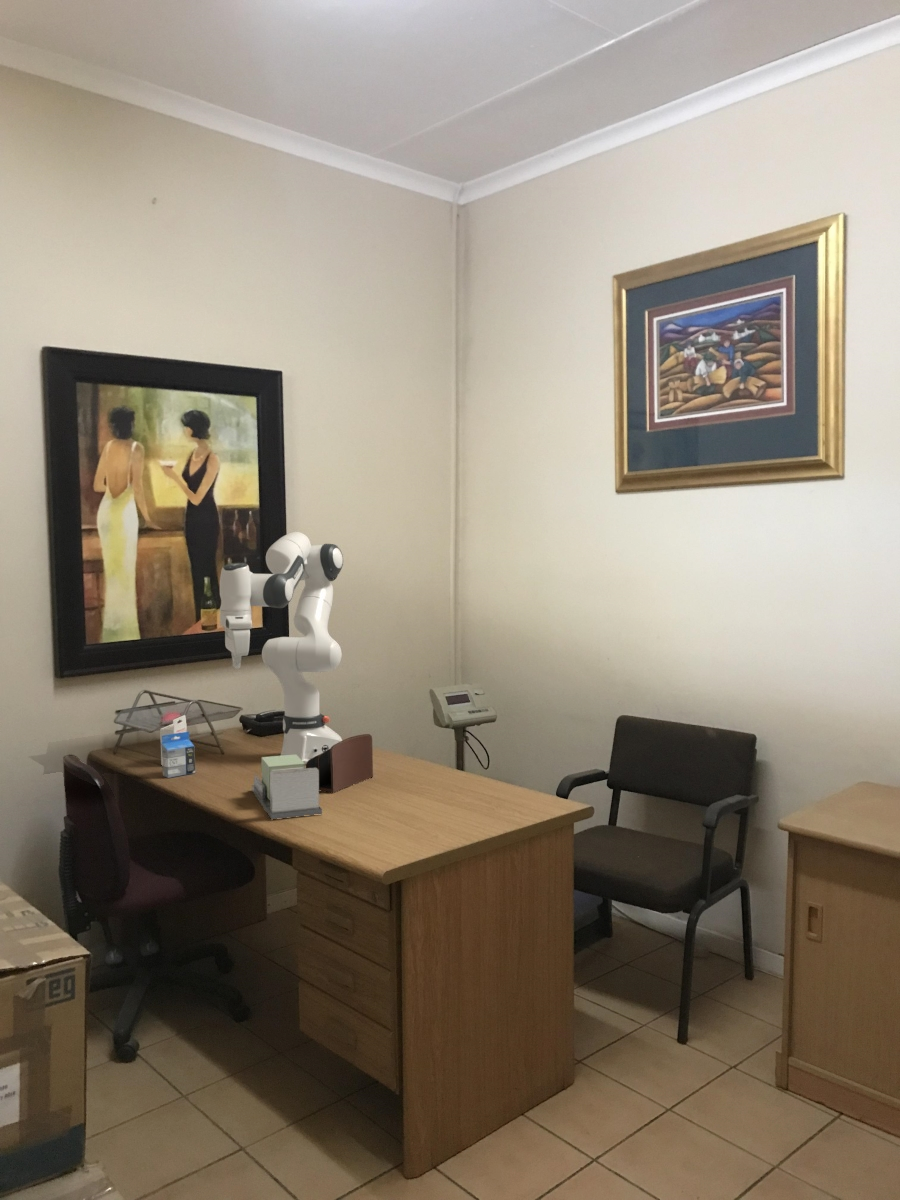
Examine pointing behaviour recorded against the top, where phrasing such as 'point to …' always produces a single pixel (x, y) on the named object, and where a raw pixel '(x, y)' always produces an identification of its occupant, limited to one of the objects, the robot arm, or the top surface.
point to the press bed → (290, 793)
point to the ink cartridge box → (174, 729)
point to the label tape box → (177, 755)
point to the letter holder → (344, 763)
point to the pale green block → (278, 767)
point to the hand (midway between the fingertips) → (236, 667)
